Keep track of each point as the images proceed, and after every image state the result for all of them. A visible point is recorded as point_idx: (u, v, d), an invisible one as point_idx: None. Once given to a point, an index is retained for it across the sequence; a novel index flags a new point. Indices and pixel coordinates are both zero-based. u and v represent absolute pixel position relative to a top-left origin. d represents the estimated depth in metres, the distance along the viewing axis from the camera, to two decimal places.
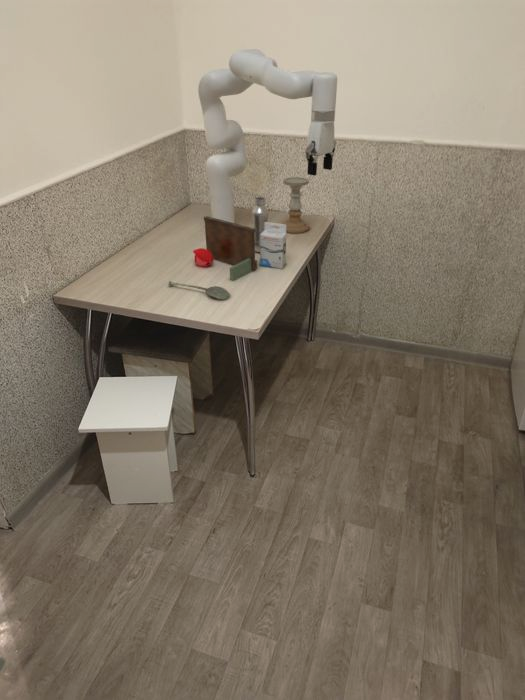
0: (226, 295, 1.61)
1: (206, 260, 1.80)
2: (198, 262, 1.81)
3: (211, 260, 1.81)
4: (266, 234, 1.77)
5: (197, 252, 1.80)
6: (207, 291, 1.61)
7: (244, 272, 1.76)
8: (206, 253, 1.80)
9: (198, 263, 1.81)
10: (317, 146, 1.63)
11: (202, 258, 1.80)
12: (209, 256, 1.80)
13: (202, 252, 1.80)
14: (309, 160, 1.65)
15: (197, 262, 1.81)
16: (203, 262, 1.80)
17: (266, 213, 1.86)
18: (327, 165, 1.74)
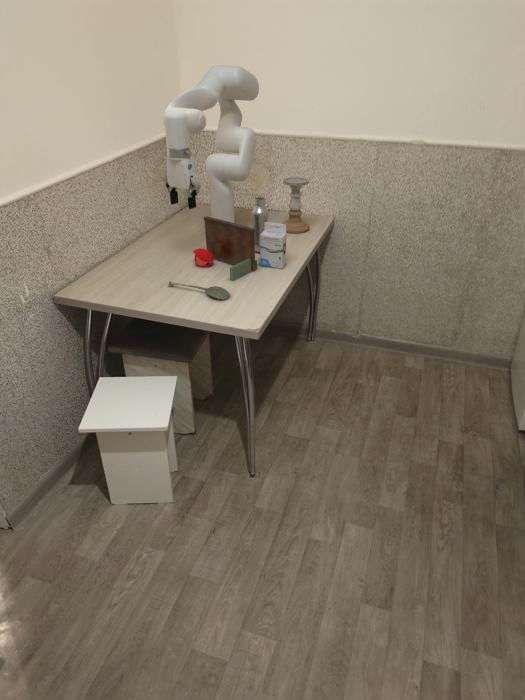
0: (226, 295, 1.61)
1: (206, 260, 1.80)
2: (198, 262, 1.81)
3: (211, 260, 1.81)
4: (266, 234, 1.77)
5: (197, 252, 1.80)
6: (207, 291, 1.61)
7: (244, 272, 1.76)
8: (206, 253, 1.80)
9: (198, 263, 1.81)
10: None
11: (202, 258, 1.80)
12: (209, 256, 1.80)
13: (202, 252, 1.80)
14: None
15: (197, 262, 1.81)
16: (203, 262, 1.80)
17: (266, 213, 1.86)
18: None
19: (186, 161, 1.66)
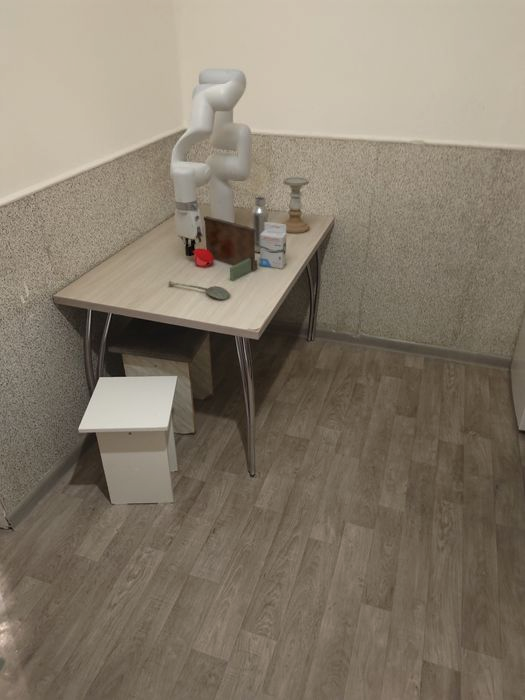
0: (226, 295, 1.61)
1: (206, 260, 1.80)
2: (198, 262, 1.81)
3: (211, 260, 1.81)
4: (266, 234, 1.77)
5: (197, 252, 1.80)
6: (207, 291, 1.61)
7: (244, 272, 1.76)
8: (206, 253, 1.80)
9: (198, 263, 1.81)
10: None
11: (202, 258, 1.80)
12: (209, 256, 1.80)
13: (202, 252, 1.80)
14: None
15: (197, 262, 1.81)
16: (203, 262, 1.80)
17: (266, 213, 1.86)
18: None
19: (193, 213, 1.74)
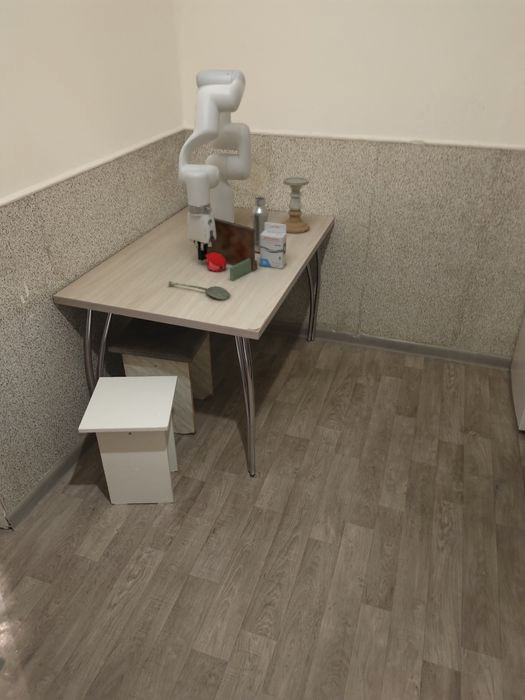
0: (226, 295, 1.61)
1: (219, 264, 1.76)
2: (211, 266, 1.78)
3: (224, 264, 1.77)
4: (266, 234, 1.77)
5: (210, 256, 1.77)
6: (207, 291, 1.61)
7: (244, 272, 1.76)
8: (219, 257, 1.77)
9: (211, 267, 1.78)
10: None
11: (215, 262, 1.76)
12: (222, 260, 1.77)
13: (215, 256, 1.76)
14: None
15: (210, 266, 1.78)
16: (216, 266, 1.77)
17: (266, 213, 1.86)
18: None
19: (206, 217, 1.71)
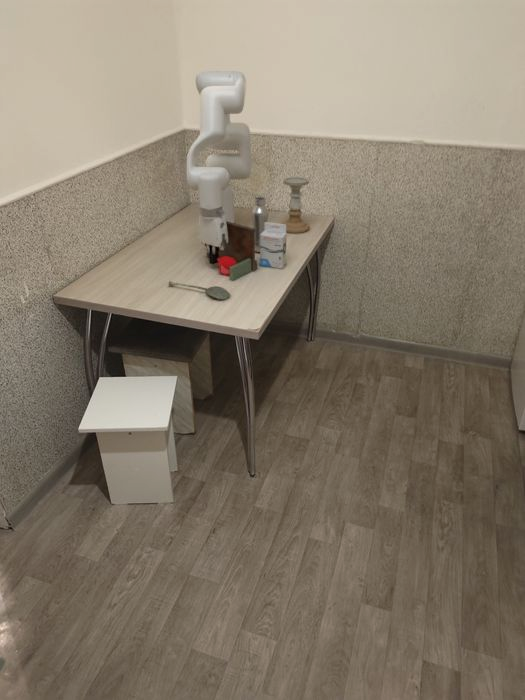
0: (226, 295, 1.61)
1: None
2: (222, 270, 1.75)
3: None
4: (266, 234, 1.77)
5: (222, 260, 1.74)
6: (207, 291, 1.61)
7: (244, 272, 1.76)
8: (231, 261, 1.74)
9: (222, 271, 1.75)
10: None
11: (227, 266, 1.73)
12: (234, 264, 1.74)
13: (227, 260, 1.74)
14: None
15: (221, 270, 1.75)
16: (228, 270, 1.74)
17: (266, 213, 1.86)
18: None
19: (219, 220, 1.68)
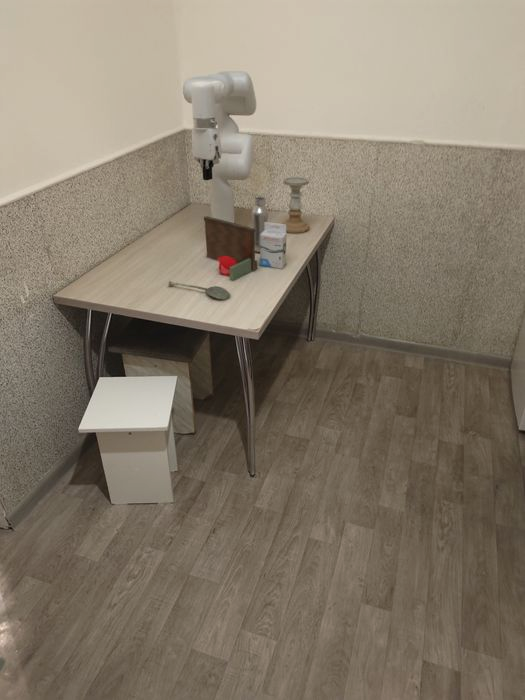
0: (226, 295, 1.61)
1: None
2: (222, 270, 1.75)
3: None
4: (266, 234, 1.77)
5: (222, 260, 1.74)
6: (207, 291, 1.61)
7: (244, 272, 1.76)
8: (231, 261, 1.74)
9: (222, 271, 1.75)
10: None
11: (227, 266, 1.73)
12: (234, 264, 1.74)
13: (227, 260, 1.74)
14: None
15: (221, 270, 1.75)
16: (228, 270, 1.74)
17: (266, 213, 1.86)
18: None
19: (212, 131, 1.68)
